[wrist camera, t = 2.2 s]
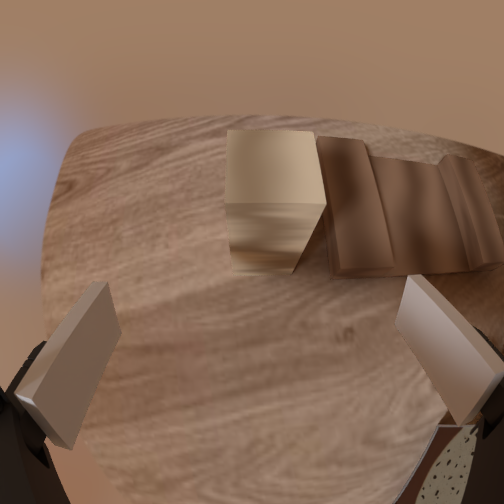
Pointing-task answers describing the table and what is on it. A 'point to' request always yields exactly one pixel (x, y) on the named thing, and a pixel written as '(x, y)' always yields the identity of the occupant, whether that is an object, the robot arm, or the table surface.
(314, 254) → the table surface
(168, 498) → the table surface
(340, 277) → the cradle
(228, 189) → the tall wooden block
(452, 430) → the food container
